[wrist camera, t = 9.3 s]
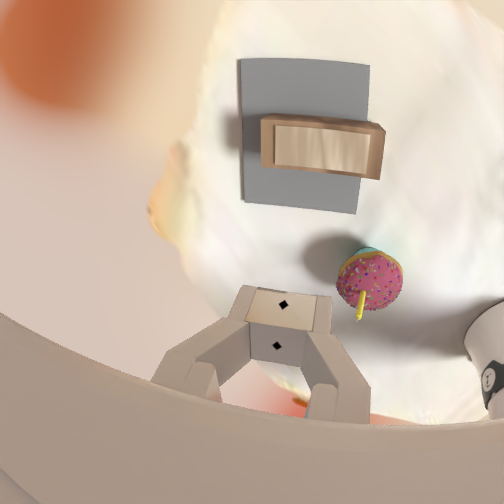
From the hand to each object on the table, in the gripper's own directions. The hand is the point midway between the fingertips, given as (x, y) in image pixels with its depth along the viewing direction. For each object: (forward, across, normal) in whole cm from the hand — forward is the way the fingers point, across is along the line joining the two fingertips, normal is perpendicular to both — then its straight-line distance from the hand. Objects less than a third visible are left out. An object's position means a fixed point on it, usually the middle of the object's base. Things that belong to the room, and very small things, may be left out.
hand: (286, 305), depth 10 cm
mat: (+27, -2, 0) cm, 27 cm away
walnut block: (+24, +6, 0) cm, 25 cm away
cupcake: (+27, +8, -16) cm, 33 cm away
